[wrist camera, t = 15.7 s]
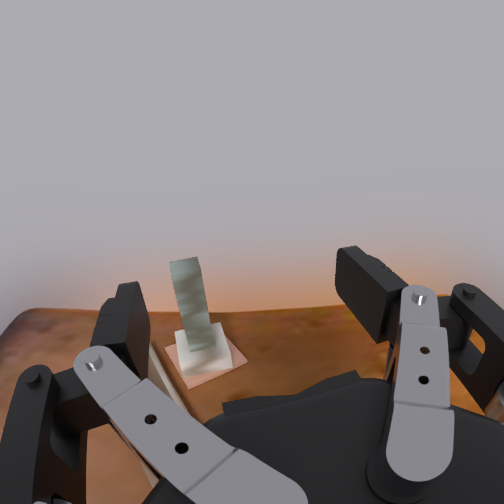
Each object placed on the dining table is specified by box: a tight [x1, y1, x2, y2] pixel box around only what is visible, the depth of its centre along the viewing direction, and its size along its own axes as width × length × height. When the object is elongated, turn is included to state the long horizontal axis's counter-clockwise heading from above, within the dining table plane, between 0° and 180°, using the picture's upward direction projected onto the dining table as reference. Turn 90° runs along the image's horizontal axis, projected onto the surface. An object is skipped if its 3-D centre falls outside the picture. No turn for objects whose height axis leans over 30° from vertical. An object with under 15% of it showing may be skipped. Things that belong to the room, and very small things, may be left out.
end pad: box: [165, 336, 247, 389], centre depth 38 cm, size 8×8×1 cm
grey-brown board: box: [140, 343, 191, 488], centre depth 30 cm, size 7×21×1 cm, turn 32°
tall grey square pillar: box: [170, 257, 233, 378], centre depth 35 cm, size 6×6×13 cm
